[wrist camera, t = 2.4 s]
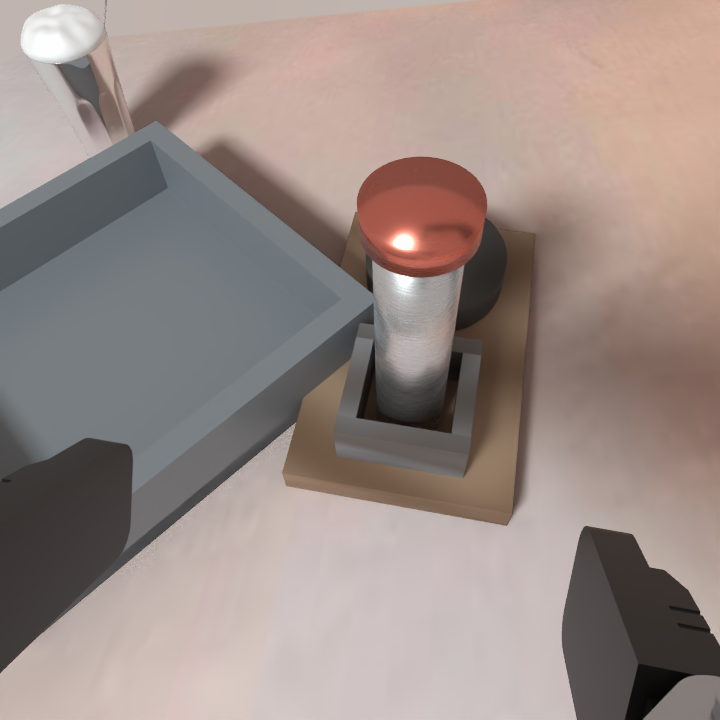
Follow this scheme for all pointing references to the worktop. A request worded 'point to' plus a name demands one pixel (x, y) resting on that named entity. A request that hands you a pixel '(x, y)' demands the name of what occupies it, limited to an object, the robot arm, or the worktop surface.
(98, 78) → the milkshake
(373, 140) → the worktop surface
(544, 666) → the worktop surface
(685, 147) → the worktop surface
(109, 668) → the worktop surface
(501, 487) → the wooden stand
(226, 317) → the tray
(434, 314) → the pin
